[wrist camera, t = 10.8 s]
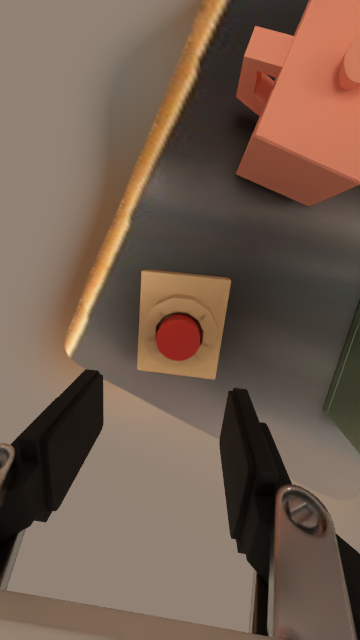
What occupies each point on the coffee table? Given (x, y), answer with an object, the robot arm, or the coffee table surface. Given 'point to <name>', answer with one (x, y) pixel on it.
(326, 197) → the pink cube teapot
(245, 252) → the coffee table surface
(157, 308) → the control block
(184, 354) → the button
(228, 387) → the coffee table surface
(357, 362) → the green box
